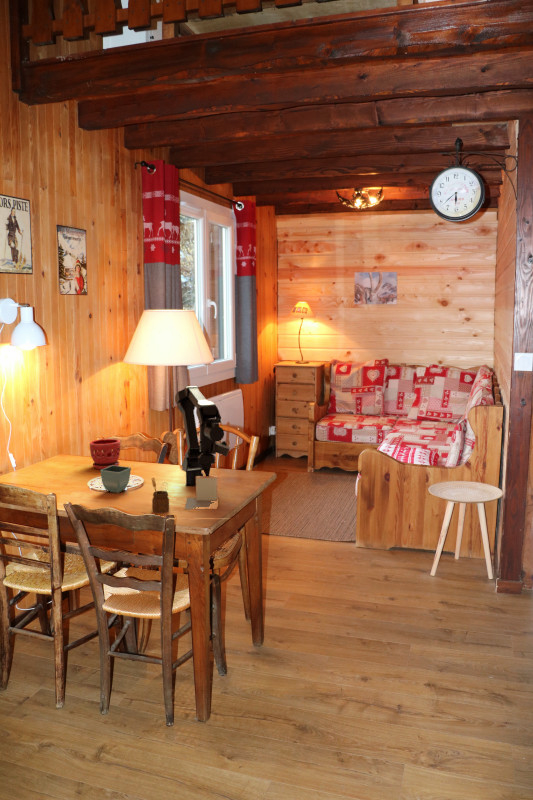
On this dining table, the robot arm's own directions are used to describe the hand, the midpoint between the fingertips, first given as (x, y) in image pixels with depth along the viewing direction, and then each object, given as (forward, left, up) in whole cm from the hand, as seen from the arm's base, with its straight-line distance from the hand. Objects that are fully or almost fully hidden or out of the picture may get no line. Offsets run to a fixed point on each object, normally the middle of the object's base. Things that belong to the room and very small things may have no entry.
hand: (207, 476), depth 256 cm
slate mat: (-2, -11, -8) cm, 14 cm away
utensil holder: (-16, -19, -8) cm, 26 cm away
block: (0, -7, -7) cm, 10 cm away
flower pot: (-36, +7, -8) cm, 37 cm away
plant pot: (-47, +44, -8) cm, 65 cm away
